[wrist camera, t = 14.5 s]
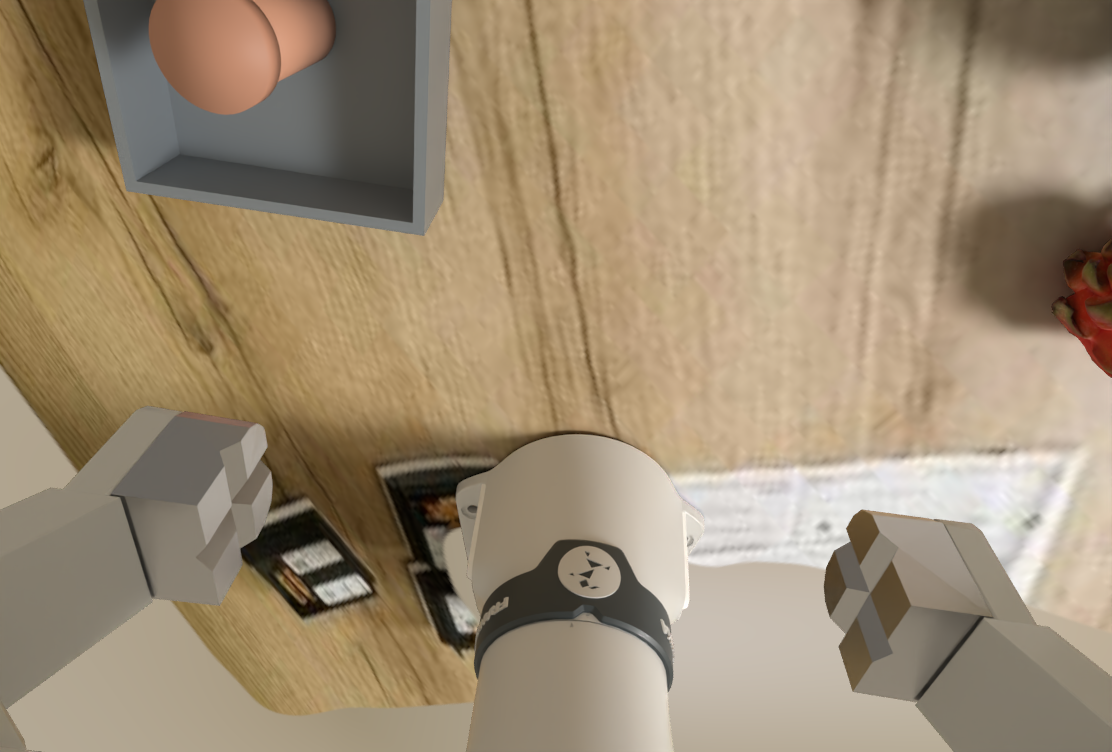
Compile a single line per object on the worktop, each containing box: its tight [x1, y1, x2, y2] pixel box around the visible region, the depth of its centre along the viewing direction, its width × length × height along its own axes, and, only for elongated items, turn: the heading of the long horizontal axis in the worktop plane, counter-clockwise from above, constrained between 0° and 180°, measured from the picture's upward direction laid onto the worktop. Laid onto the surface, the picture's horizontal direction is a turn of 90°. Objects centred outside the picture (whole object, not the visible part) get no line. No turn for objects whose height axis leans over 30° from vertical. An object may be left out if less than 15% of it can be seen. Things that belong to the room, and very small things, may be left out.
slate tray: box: [83, 0, 452, 236], centre depth 33 cm, size 15×15×5 cm
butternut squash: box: [149, 0, 336, 115], centre depth 31 cm, size 5×5×8 cm
